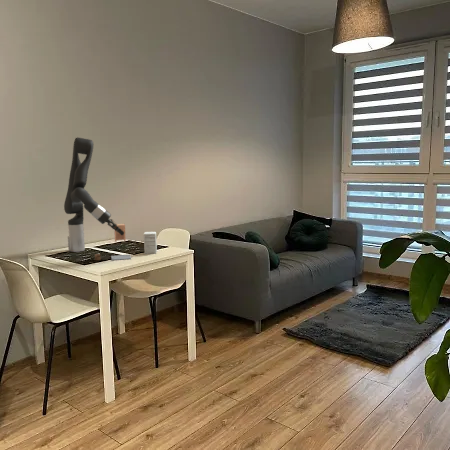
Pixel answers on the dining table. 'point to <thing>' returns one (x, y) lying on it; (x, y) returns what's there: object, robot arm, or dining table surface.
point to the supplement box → (150, 243)
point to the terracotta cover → (118, 235)
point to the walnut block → (97, 257)
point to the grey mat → (120, 257)
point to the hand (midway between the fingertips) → (122, 233)
